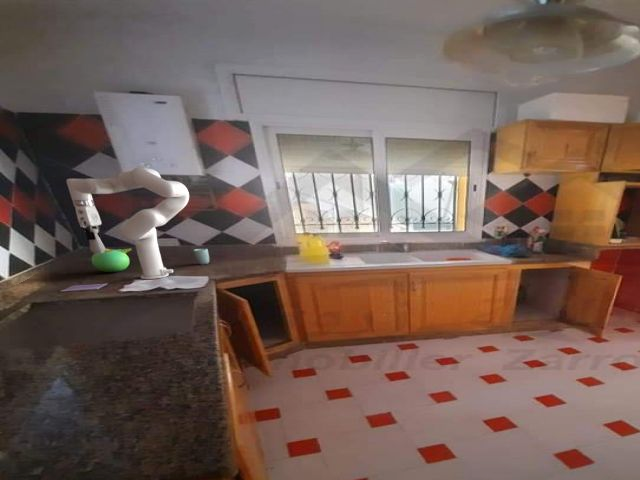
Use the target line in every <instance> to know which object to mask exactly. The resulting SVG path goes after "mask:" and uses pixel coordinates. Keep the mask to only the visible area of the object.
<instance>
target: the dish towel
mask: <svg viewBox="0 0 640 480" xmlns="http://www.w3.org/2000/svg"><path fill="white" fill-rule="evenodd" d="M107 285H109V283H107V282H106V283H95V284H94V283H92V284H81V285H71V286H70V287H67V288H64V289H61V290H60V291H59V292H60V293H65V292H79V291H80V292H81V291H92V290H93V291H94V290H98V289H101V288H103V287H105V286H107Z"/></svg>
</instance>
